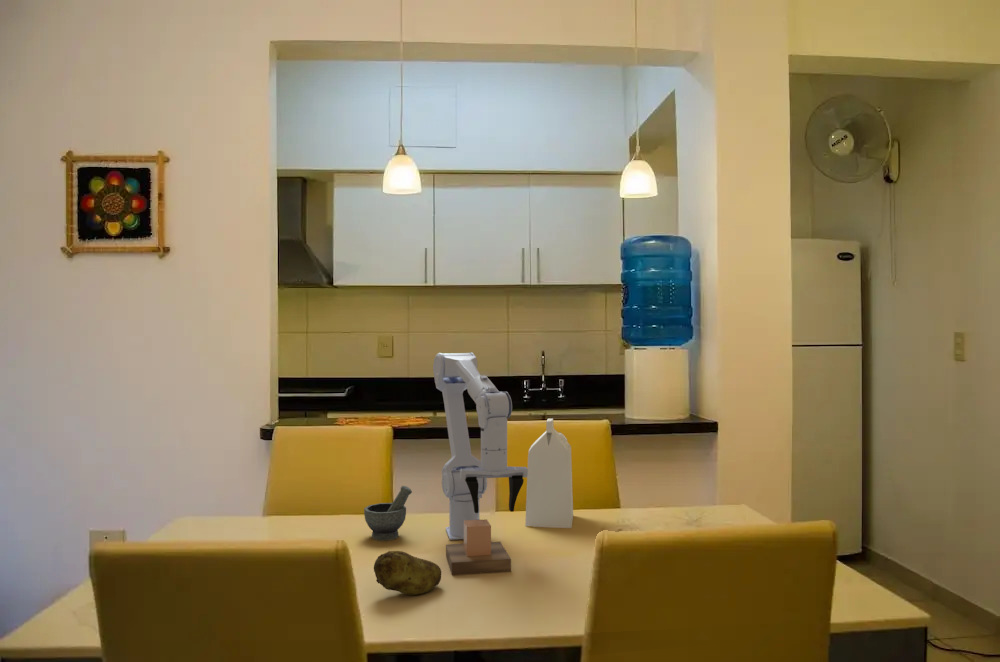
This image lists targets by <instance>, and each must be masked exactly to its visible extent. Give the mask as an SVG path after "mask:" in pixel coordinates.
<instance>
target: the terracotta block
mask: <svg viewBox="0 0 1000 662" xmlns="http://www.w3.org/2000/svg"><path fill="white" fill-rule="evenodd" d="M491 542H492V525H491V524H490V522H489V520H488V519H485V518H483V519H480V520H465V521H464V539H463V544H464V551H465V553H466V555H467V556H479V555H491Z"/></svg>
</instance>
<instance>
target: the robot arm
mask: <svg viewBox="0 0 1000 662" xmlns="http://www.w3.org/2000/svg"><path fill="white" fill-rule="evenodd" d="M432 367H433V368H432V370H433V377H434V383H435V388H436V389H437V390H438V391H440V392H442V398H443V404H444V406H443V407H444V412H445V420H446V427H447V435H448V440H449V441H448V442H449V448H450V456H451V458H450V459H449V460H448V461H447V462H445V464H444V465H443V466H442V468H441V487H442V492H443V495H444V497H446V498H448V499H449V500H448V501H449V505H448V506H449V511H448V512H449V515H448V516H449V517H448V518H449V526H446V527H445V531H446V534H447V536H448V539H449V541H452V540H453V541H454V540H464V521H465V520H481V519H480V518H481V517H480V499H482V498H483V495H484V494H485V493H486V491H487V488H488V479H495V478H508V486H509V497H508V510H509V511H510V512H515V511H514V510H515V506H516V501H517V498H518V495H519V493H520V491H521V488H522V486H523V485H524V481H525V479H524V478H527V477H528V467H526V466H508V419H510V417H511V415H512V412H513V402H512V398H511V395H510V394H509V392H508V391H499V390H498V388H497V387H496V385H495V384H494V383H493V382H492V381H491V379H489V378H488V376H487V375H481V374H480V371H479V370H478V359H477V356H476V355H475V354H474V352H456V353H455V352H454V353H452V352H451V353H450V352H448V353H444V352H443V353H442V352H438V353H436V355H435V356H434V359H433V365H432ZM466 390H467V393H468V395H469V396H470V398H471V399H472V400H473V401H474V404H475V405H476V406H475V408H476V414H477V418H478V419H477V420H478V426H479V428H480V459H478V458H477V457H476V456H474V455H473V454H472V449H471V448H472V447H471V442H470V436H469V435H470V434H469V429H468V421H467V414H466V408H465V402H464V401H465V400H464V395H463V394H464V391H466Z"/></svg>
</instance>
